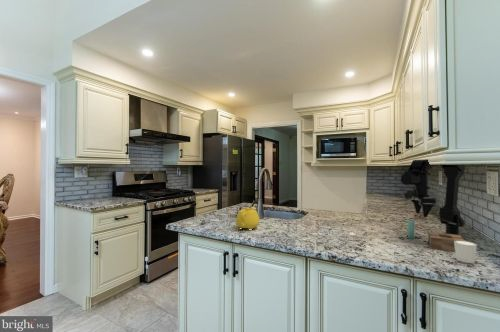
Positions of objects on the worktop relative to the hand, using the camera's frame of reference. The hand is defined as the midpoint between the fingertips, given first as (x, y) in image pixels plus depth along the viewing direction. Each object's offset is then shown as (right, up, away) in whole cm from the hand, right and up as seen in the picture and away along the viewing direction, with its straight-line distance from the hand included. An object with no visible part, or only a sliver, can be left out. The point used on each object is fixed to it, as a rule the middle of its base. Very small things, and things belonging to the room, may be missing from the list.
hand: (421, 215), depth 121 cm
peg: (-2, -13, +5) cm, 14 cm away
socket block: (+4, -13, -10) cm, 17 cm away
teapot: (-87, -14, +28) cm, 93 cm away
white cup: (-1, -13, -25) cm, 29 cm away
